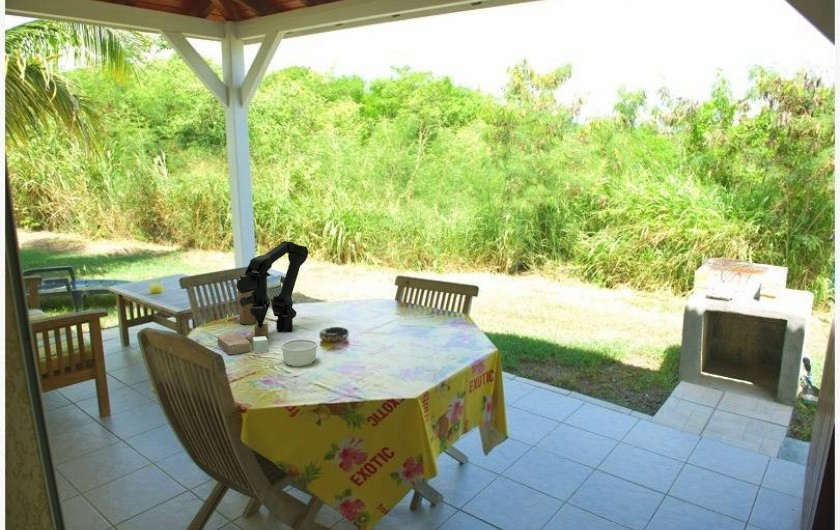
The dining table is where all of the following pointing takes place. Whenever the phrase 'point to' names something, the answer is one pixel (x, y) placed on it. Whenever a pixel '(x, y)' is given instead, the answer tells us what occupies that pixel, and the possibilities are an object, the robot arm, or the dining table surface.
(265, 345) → the grey block
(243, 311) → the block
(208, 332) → the dining table surface
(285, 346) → the ramekin
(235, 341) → the brick
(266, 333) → the walnut block
